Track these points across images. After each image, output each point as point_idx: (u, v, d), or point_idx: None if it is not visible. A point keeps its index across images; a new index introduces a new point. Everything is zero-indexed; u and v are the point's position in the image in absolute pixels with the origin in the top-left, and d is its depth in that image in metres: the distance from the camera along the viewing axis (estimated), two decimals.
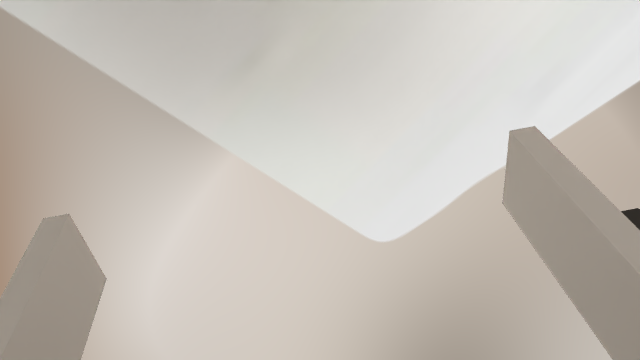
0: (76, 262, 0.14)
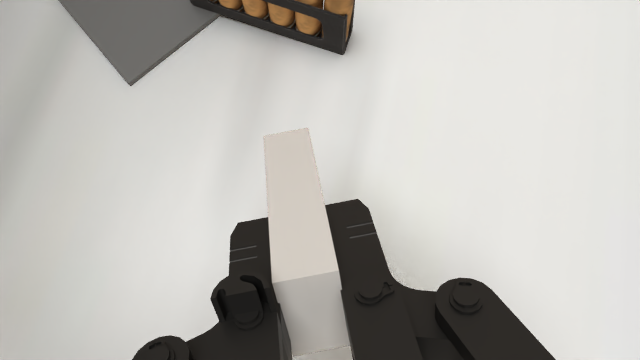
0: None
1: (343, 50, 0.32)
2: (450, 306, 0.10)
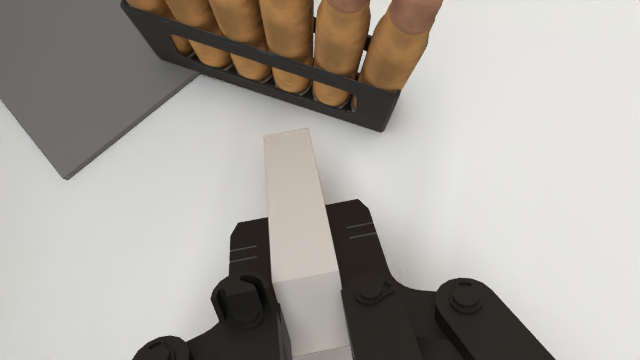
0: None
1: (383, 128, 0.21)
2: (450, 306, 0.10)
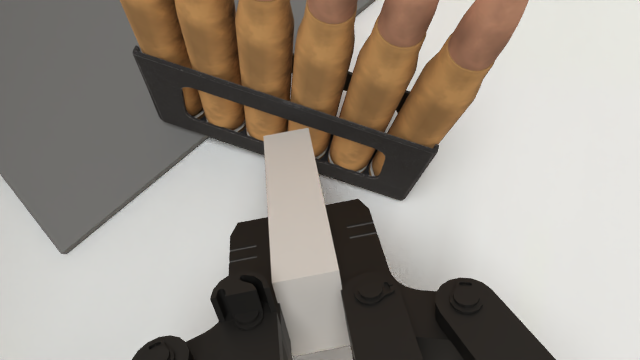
0: None
1: (406, 195, 0.20)
2: (450, 306, 0.10)
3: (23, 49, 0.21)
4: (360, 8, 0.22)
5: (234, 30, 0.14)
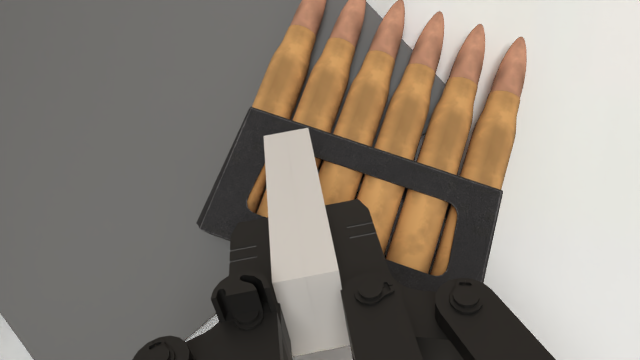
0: None
1: None
2: (450, 306, 0.10)
3: (42, 198, 0.20)
4: None
5: (341, 102, 0.20)
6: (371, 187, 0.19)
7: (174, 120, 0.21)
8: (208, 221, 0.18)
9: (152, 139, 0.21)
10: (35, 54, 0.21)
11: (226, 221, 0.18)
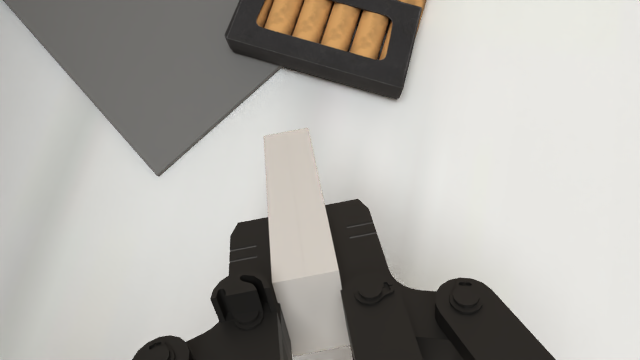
0: None
1: (404, 77, 0.27)
2: (450, 306, 0.10)
3: (120, 36, 0.30)
4: None
5: None
6: (336, 10, 0.28)
7: None
8: (232, 33, 0.28)
9: None
10: None
11: (243, 32, 0.28)
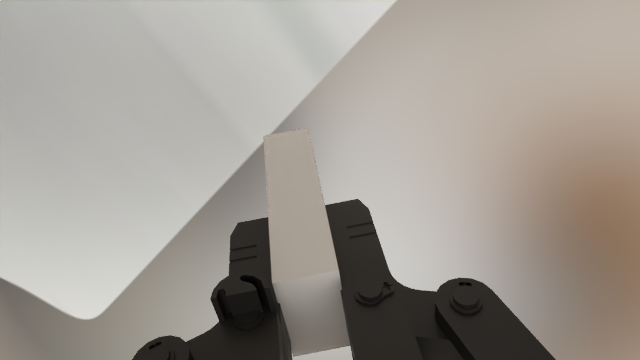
0: None
1: None
2: (450, 306, 0.10)
3: None
4: None
5: None
6: None
7: None
8: None
9: None
10: None
11: None
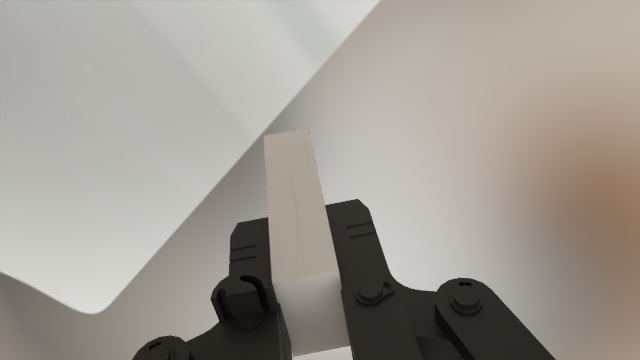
0: None
1: None
2: (450, 306, 0.10)
3: None
4: None
5: None
6: None
7: None
8: None
9: None
10: None
11: None
